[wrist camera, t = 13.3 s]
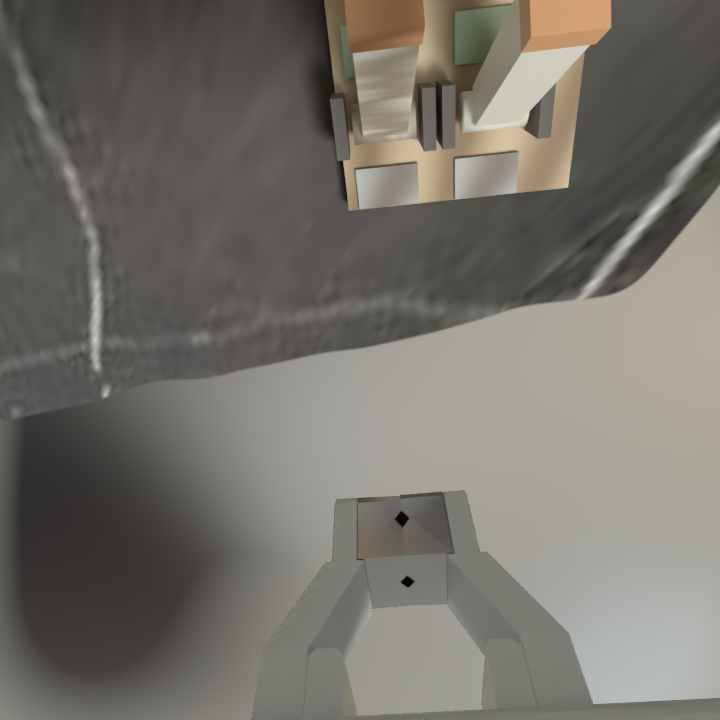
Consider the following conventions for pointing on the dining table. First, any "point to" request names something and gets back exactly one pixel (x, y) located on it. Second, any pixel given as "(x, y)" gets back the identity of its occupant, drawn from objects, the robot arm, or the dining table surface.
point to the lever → (530, 59)
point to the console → (434, 106)
